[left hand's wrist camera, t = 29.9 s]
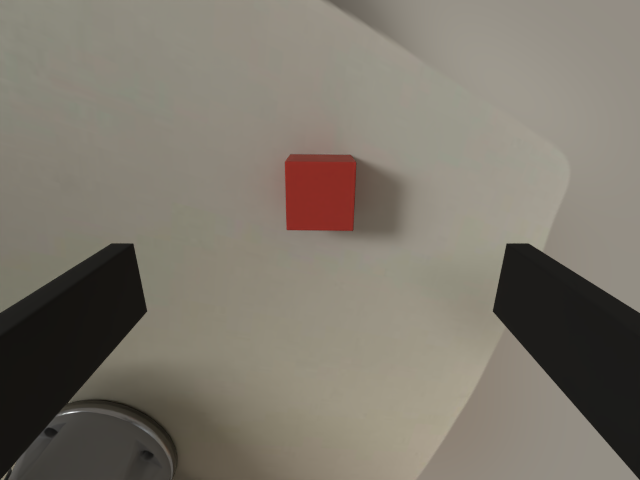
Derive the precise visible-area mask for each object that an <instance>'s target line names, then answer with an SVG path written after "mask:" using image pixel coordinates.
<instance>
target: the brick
mask: <svg viewBox="0 0 640 480" xmlns="http://www.w3.org/2000/svg"><path fill="white" fill-rule="evenodd" d="M355 180H356V161H355V160H354V159H353V157H352V156H351V155H302V154H290V156H289V157H288V158H287V160H286V161H285V183H286V222H287V230H336V231H353V224H354V202H355Z"/></svg>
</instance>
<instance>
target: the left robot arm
mask: <svg viewBox="0 0 640 480" xmlns="http://www.w3.org/2000/svg"><path fill="white" fill-rule="evenodd" d="M146 312H147V308H146V303H145V298H144V294H143V289H142V284H141V279H140V274H139V269H138V264H137V259H136V254H135V249H134V244H110V245H108V246H107V247H105V248H104V249H102V250H100V251H99V252H97V253H96V254H94V255H92V256H91V257H89V258H88V259H86V260H84V261H83V262H81V263H80V264H78V265H76V266H75V267H73V268H72V269H70V270H68V271H67V272H65V273H64V274H62V275H60V276H59V277H57V278H56V279H54V280H52V281H51V282H49V283H48V284H46V285H45V286H43V287H41V288H40V289H38V290H37V291H35V292H33V293H32V294H30V295H29V296H27V297H25V298H24V299H22V300H21V301H19V302H17V303H16V304H14V305H13V306H11V307H9V308H8V309H6V310H5V311H3V312H1V313H0V480H1V478H2V477H3V476H4V475H5V474H6V473H7V472H8V473H7V475H6V477H5V479H4V480H172V478H173V476H174V473H175V470H176V467H177V453H176V449H175V446H174V444H173V442H172V440H171V438H170V437H169V435H168V434H167V433H166V432H165V430H164V429H163V428H162V427H161V426H160V425H159V424H157V423H156V422H155V421H154V420H152V419H151V418H150V417H148V416H146V415H145V414H143V413H141V412H139V411H137V410H135V409H133V408H130V407H128V406H125V405H122V404H118V403H114V402H109V401H101V400H84V401H77V402H72V403H68V402H69V400H70V399H71V398H72V397H73V396H74V395H75V394H76V392H77V391H78V390H79V389H80V388H81V387H82V386H83V384H84V383H85V382H86V381H87V380H88V379H89V377H90V376H91V375H92V374H93V373H94V372H95V371H96V369H97V368H98V367H99V366H100V365H101V364H102V363H103V361H104V360H105V359H106V358H107V357H108V356H109V355H110V353H111V352H112V351H113V350H114V349H115V348H116V347H117V345H118V344H119V343H120V342H121V341H122V340H123V338H124V337H125V336H126V335H127V334H128V333H129V332H130V330H131V329H132V328H133V327H134V326H135V325H136V324H137V322H138V321H139V320H140V319H141V318H142V317H143V316H144V314H145V313H146ZM493 312H494V313H495V314H496V316H497V317H498V318H499V319H500V320H501V321H502V322H503V324H504V325H505V326H506V327H507V328H508V329H509V330H510V332H511V333H512V334H513V335H514V336H515V337H516V338H517V340H518V341H519V342H520V343H521V344H522V345H523V347H524V348H525V349H526V350H527V351H528V352H529V353H530V354H531V356H532V357H533V358H534V359H535V360H536V361H537V363H538V364H539V365H540V366H541V367H542V368H543V369H544V371H545V372H546V373H547V374H548V375H549V376H550V377H551V379H552V380H553V381H554V382H555V383H556V384H557V386H558V387H559V388H560V389H561V390H562V391H563V392H564V394H565V395H566V396H567V397H568V398H569V399H570V400H571V401H572V403H573V404H574V405H575V406H576V407H577V408H578V410H579V411H580V412H581V413H582V414H583V415H584V416H585V418H586V419H587V420H588V421H589V422H590V423H591V425H592V426H593V427H594V428H595V429H596V430H597V431H598V433H599V434H600V435H601V436H602V437H603V438H604V439H605V441H606V442H607V443H608V444H609V445H610V446H611V447H612V449H613V450H614V451H615V452H616V453H617V454H618V455H619V457H620V458H621V459H622V460H623V461H624V462H625V464H626V465H627V466H628V467H629V468H630V469H631V470H632V471H633V473H634V474H635V475H636V476H637V477H638V478H639V480H640V313H639V312H637V311H635V310H634V309H632V308H631V307H629V306H627V305H626V304H624V303H623V302H621V301H619V300H618V299H616V298H615V297H613V296H611V295H610V294H608V293H607V292H605V291H603V290H602V289H600V288H599V287H597V286H595V285H594V284H592V283H591V282H589V281H587V280H586V279H584V278H583V277H581V276H579V275H578V274H576V273H575V272H573V271H571V270H570V269H568V268H567V267H565V266H564V265H562V264H560V263H559V262H557V261H556V260H554V259H552V258H551V257H549V256H548V255H546V254H544V253H543V252H541V251H540V250H538V249H536V248H535V247H533V246H532V245H530V244H506V249H505V254H504V259H503V264H502V269H501V274H500V279H499V284H498V289H497V294H496V298H495V303H494V308H493ZM67 403H68V404H67ZM16 461H17V462H16ZM15 462H16V464H15ZM14 464H15V466H14V468H13V471H12V470H11V467H12V466H13V465H14ZM8 470H9V471H8Z"/></svg>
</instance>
